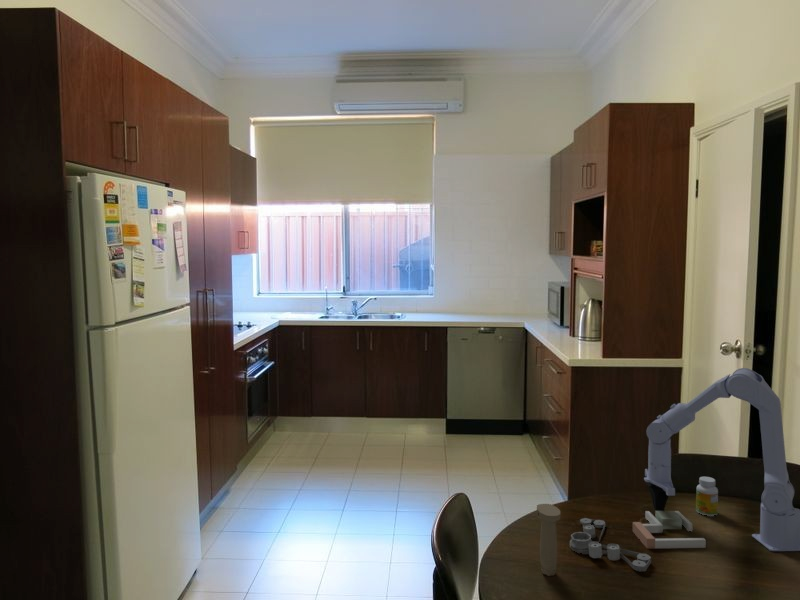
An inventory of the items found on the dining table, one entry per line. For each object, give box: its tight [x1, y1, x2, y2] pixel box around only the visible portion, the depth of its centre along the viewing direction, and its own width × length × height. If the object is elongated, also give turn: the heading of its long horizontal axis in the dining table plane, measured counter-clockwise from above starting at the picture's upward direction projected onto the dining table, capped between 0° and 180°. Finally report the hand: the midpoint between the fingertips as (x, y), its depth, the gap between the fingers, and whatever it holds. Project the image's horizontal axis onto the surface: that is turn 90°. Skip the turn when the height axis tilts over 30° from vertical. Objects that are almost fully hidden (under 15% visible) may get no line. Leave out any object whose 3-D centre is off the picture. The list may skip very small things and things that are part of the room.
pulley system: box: [569, 517, 652, 573], centre depth 142 cm, size 27×5×15 cm
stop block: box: [632, 521, 656, 549], centre depth 145 cm, size 2×9×2 cm, turn 179°
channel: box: [642, 510, 707, 549], centre depth 149 cm, size 14×16×2 cm
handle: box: [536, 503, 561, 577], centre depth 130 cm, size 5×6×15 cm
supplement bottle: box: [695, 476, 719, 517], centre depth 159 cm, size 5×5×10 cm
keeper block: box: [654, 510, 683, 530], centre depth 153 cm, size 5×5×3 cm
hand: (659, 510), depth 158 cm, fingers closed
